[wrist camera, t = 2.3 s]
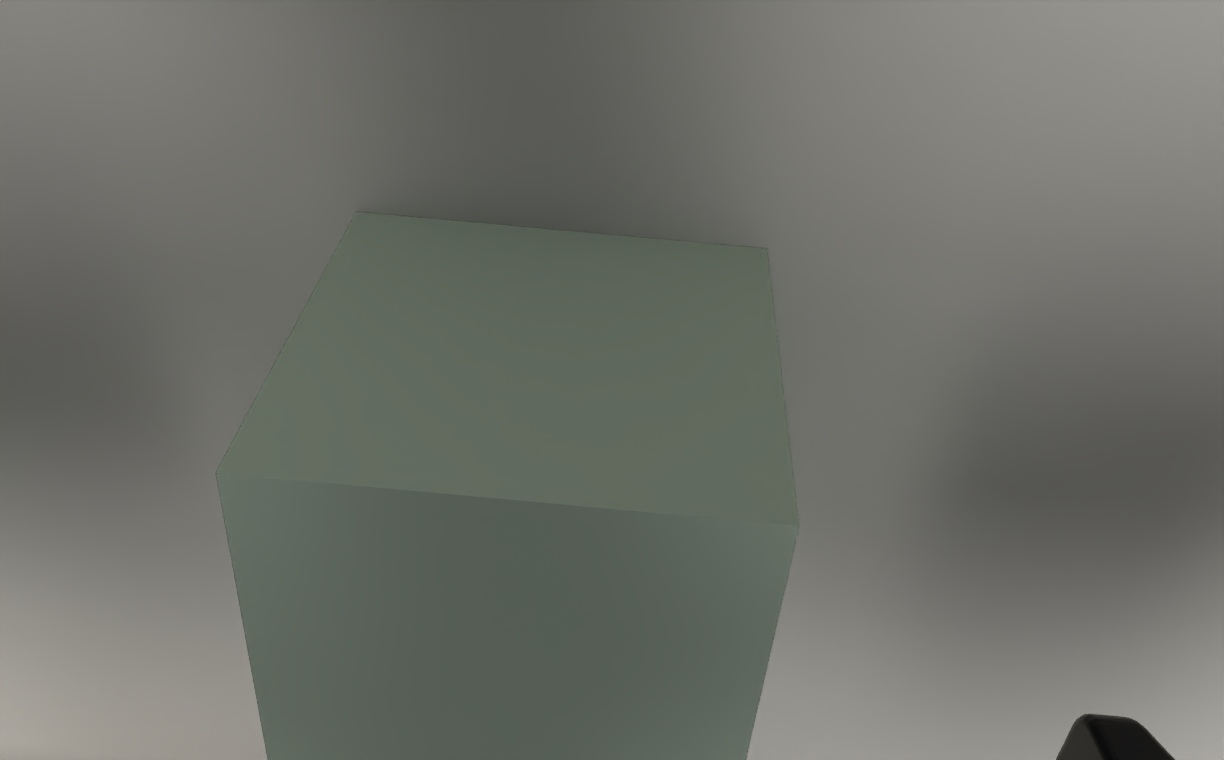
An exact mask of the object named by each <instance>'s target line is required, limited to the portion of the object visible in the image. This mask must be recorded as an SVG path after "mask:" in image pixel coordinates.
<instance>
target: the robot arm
mask: <svg viewBox="0 0 1224 760" xmlns="http://www.w3.org/2000/svg"><path fill="white" fill-rule="evenodd" d="M1056 760H1175V759H1174V758H1173V757H1172V756H1171V755H1170V754H1169V753H1168V752H1167V751H1166V750H1165V749H1164V747H1163V746H1162V745H1161V744H1160V743H1159V742H1158V741H1157V740H1156V739H1155V738H1154V737H1153V736H1152V735H1151V734H1150V732H1149V731H1148V730H1147V729H1146V728H1145V727H1144V726H1142V725H1141V724H1140V723H1138V722H1137V721H1135V720H1133V719H1131V718H1126V717H1119V716H1108V715H1097V714H1084V715H1082V716H1081V717H1079V718H1078V719H1076V721H1075V723H1074V724H1073V726H1072V728H1071V730H1070V732H1069V734H1068V736H1067V738H1066V740H1065V742H1064V744H1063V746H1062V748H1061V750H1060V752H1059V754H1058V756H1057V758H1056Z"/></svg>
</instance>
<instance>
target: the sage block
mask: <svg viewBox="0 0 1224 760" xmlns="http://www.w3.org/2000/svg"><path fill="white" fill-rule="evenodd" d="M216 478H217V483H218V489H219V494H220V500H221V505H222V511H223V516H224V522H225V527H226V533H227V538H228V544H229V549H230V555H231V560H232V566H233V571H234V577H235V582H236V588H237V594H238V599H239V605H240V610H241V616H242V621H243V627H244V632H245V638H246V643H247V649H248V654H249V660H250V665H251V671H252V676H253V682H254V687H255V693H256V698H257V704H258V709H259V715H260V720H261V726H262V731H263V737H264V742H265V748H266V753H267V759H268V760H746V757H747V753H748V748H749V744H750V740H751V735H752V731H753V726H754V722H755V718H756V713H757V709H758V705H759V700H760V696H761V692H762V687H763V683H764V678H765V674H766V670H767V665H768V661H769V657H770V652H771V648H772V643H773V639H774V635H775V630H776V626H777V622H778V617H779V613H780V609H781V604H782V600H783V595H784V591H785V587H786V582H787V578H788V574H789V569H790V565H791V560H792V556H793V552H794V547H795V543H796V539H797V534H798V530H799V519H798V510H797V502H796V493H795V484H794V476H793V467H792V459H791V450H790V442H789V433H788V424H787V416H786V407H785V399H784V390H783V382H782V373H781V364H780V356H779V347H778V339H777V330H776V322H775V313H774V304H773V296H772V287H771V279H770V270H769V261H768V253H767V249H766V248H755V247H744V246H733V245H722V244H710V243H699V242H688V241H677V240H666V239H655V238H644V237H633V236H621V235H610V234H599V233H588V232H577V231H566V230H555V229H544V228H532V227H521V226H510V225H499V224H488V223H477V222H466V221H455V220H443V219H432V218H421V217H410V216H399V215H388V214H377V213H366V212H356V213H355V215H354V217H353V219H352V221H351V223H350V225H349V226H348V228H347V230H346V232H345V234H344V236H343V238H342V239H341V241H340V243H339V245H338V247H337V249H336V250H335V252H334V254H333V256H332V258H331V260H330V262H329V263H328V265H327V267H326V269H325V271H324V273H323V275H322V276H321V278H320V280H319V282H318V284H317V286H316V288H315V289H314V291H313V293H312V295H311V297H310V299H309V301H308V302H307V304H306V306H305V308H304V310H303V312H302V314H301V315H300V317H299V319H298V321H297V323H296V325H295V326H294V328H293V330H292V332H291V334H290V336H289V338H288V339H287V341H286V343H285V345H284V347H283V349H282V351H281V352H280V354H279V356H278V358H277V360H276V362H275V364H274V365H273V367H272V369H271V371H270V373H269V375H268V377H267V378H266V380H265V382H264V384H263V386H262V388H261V390H260V391H259V393H258V395H257V397H256V399H255V401H254V403H253V404H252V406H251V408H250V410H249V412H248V414H247V415H246V417H245V419H244V421H243V423H242V425H241V427H240V428H239V430H238V432H237V434H236V436H235V438H234V440H233V441H232V443H231V445H230V447H229V449H228V451H227V453H226V454H225V456H224V458H223V460H222V462H221V464H220V466H219V467H218V469H217V471H216Z"/></svg>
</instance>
